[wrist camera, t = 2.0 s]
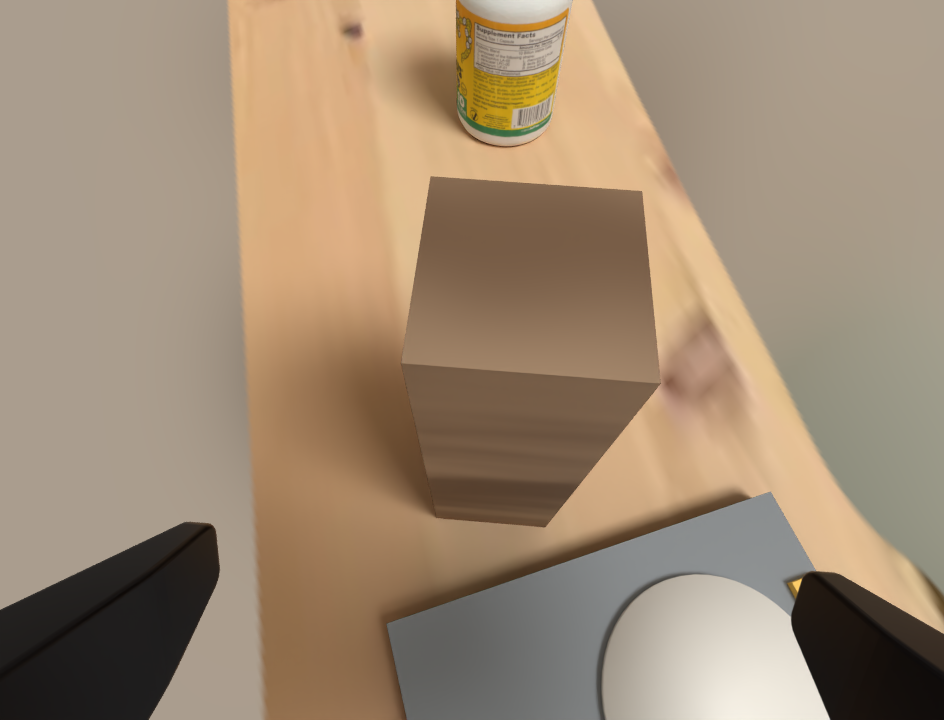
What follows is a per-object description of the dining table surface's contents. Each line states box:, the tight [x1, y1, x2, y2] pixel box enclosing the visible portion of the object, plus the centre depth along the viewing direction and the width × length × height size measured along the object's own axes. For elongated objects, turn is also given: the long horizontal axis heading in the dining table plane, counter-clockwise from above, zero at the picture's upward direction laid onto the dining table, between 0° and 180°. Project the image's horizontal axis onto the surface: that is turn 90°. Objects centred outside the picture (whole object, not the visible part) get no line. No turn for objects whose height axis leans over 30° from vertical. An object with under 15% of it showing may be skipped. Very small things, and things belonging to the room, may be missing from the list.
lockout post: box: [401, 177, 661, 527], centre depth 14 cm, size 4×4×12 cm
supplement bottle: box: [456, 0, 573, 146], centre depth 25 cm, size 5×5×10 cm
